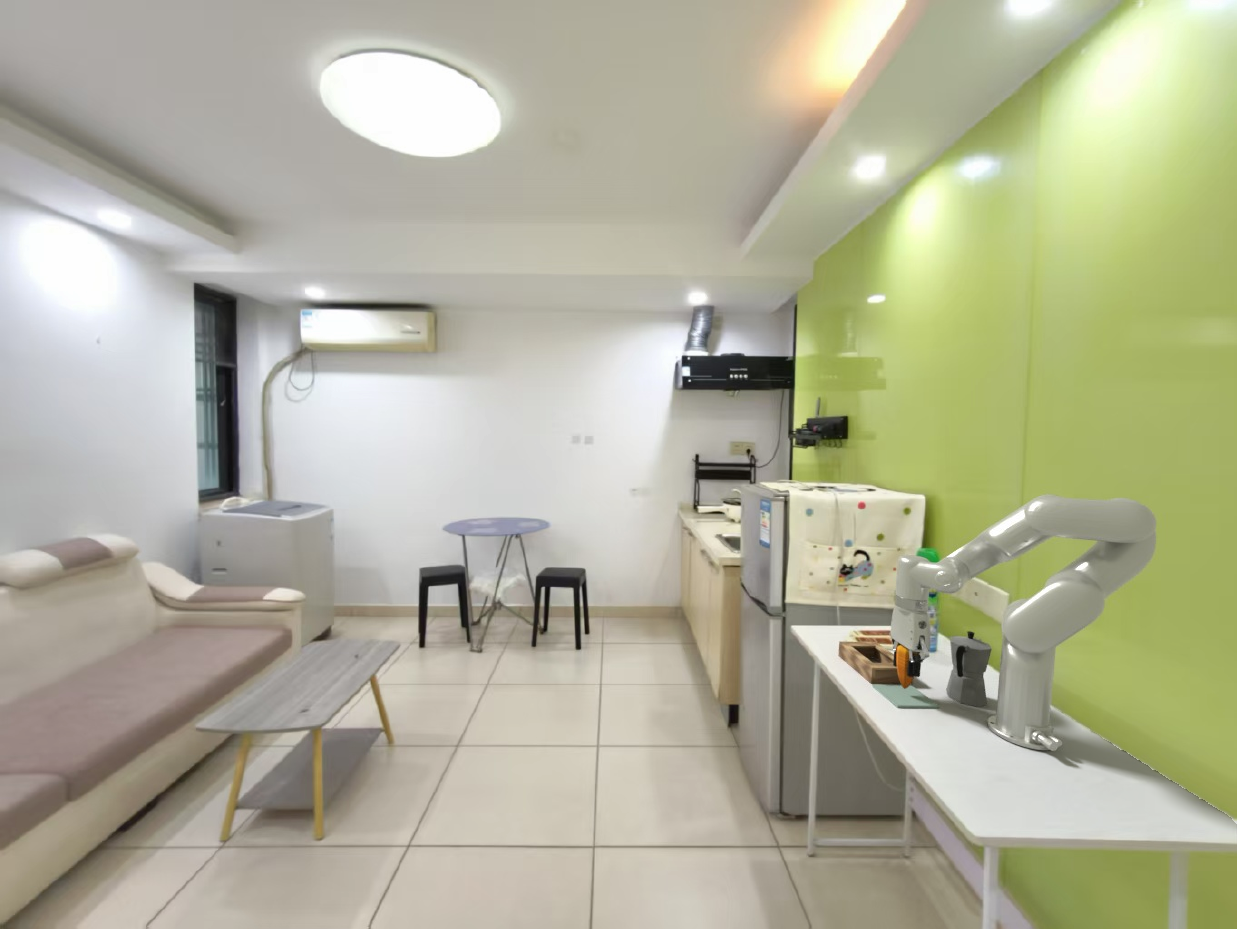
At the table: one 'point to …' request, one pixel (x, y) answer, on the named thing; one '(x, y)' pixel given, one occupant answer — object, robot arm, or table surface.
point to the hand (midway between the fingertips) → (906, 670)
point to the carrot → (903, 665)
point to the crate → (872, 672)
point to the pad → (905, 696)
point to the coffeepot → (968, 670)
